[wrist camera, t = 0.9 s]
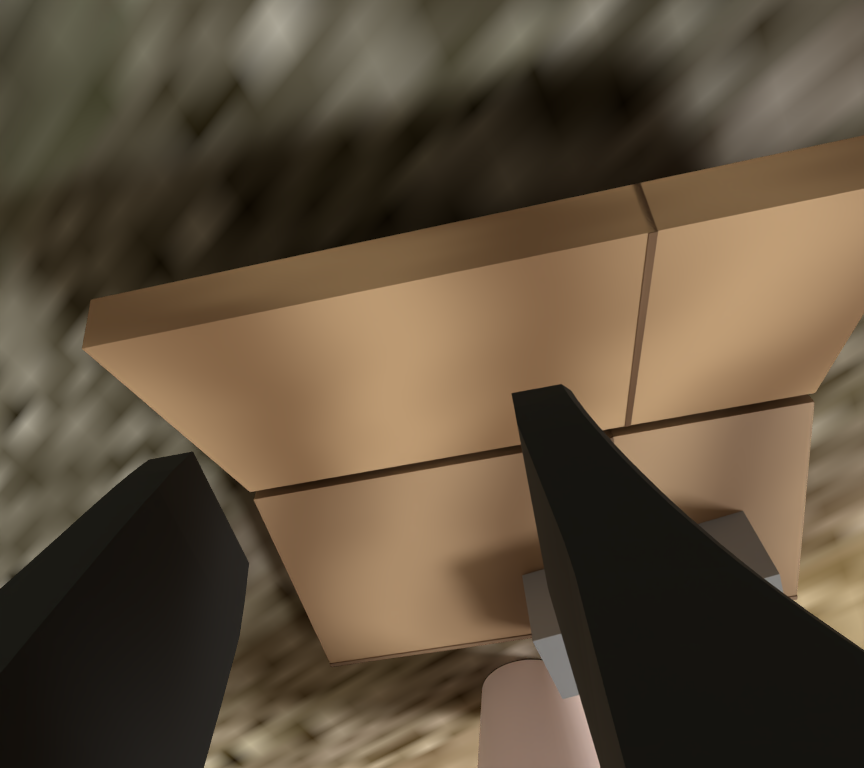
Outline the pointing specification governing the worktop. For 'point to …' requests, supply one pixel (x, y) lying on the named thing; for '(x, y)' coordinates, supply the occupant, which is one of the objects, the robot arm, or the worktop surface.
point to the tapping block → (542, 616)
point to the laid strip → (511, 528)
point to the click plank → (506, 321)
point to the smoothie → (531, 722)
